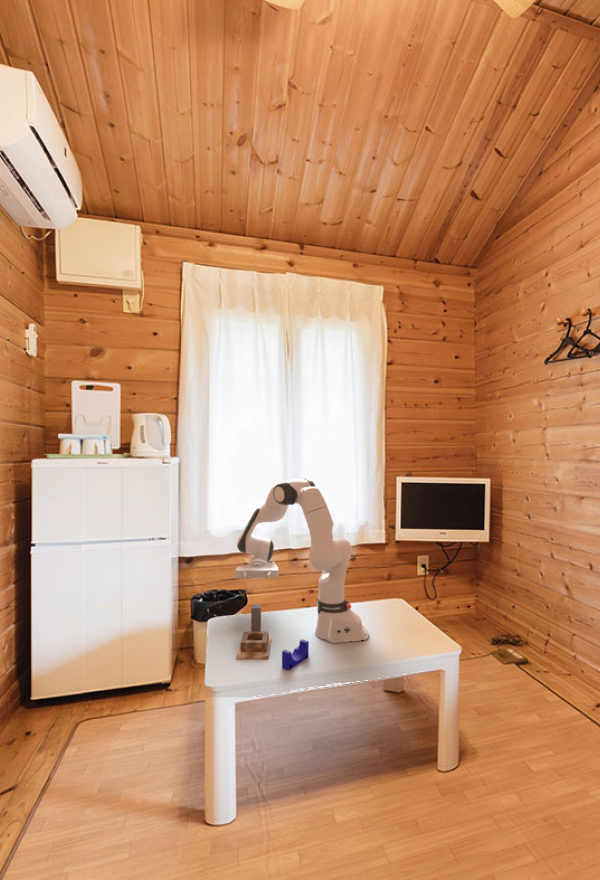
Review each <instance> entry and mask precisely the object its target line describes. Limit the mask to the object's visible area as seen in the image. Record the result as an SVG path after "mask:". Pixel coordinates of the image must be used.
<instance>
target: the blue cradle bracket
mask: <svg viewBox="0 0 600 880" xmlns="http://www.w3.org/2000/svg"><path fill="white" fill-rule="evenodd" d="M309 644H310V643H309V641H308V640H306V639H300V640H299V644H298V646H297V647H295V648H294V649H293V652H291V651H289V650H287V649H283V650H281V667H282V668H281V669H284V670H286V671H291V670H292V669H294V668H295V667H297V666H298V665H299V664H301V663H302V662H304V661H305V660H307V659H308V658H309V656H310V655H309V653H310V652H309V650H310V648H309V647H310V646H309Z"/></svg>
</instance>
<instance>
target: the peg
mask: <svg viewBox="0 0 600 880" xmlns="http://www.w3.org/2000/svg"><path fill="white" fill-rule="evenodd" d="M250 610H251V611H250V612H251V616H250V617H251V618H250V620H251V621H250V622H251V623H250V631H262V604H261V603H260V604H251V609H250Z"/></svg>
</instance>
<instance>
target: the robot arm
mask: <svg viewBox="0 0 600 880" xmlns="http://www.w3.org/2000/svg"><path fill="white" fill-rule="evenodd" d="M266 497H267V498H266V500H265V503H264V504H263V505H262V506H261V507H258V508H256V509H255V511H254V512H253V514H252V516H251V517H250V519H249V520H248V522H247V524H246V526H245V527H244V529H243V532H242V533H241V534H240V535H239V537H238V539H237V542H236V547H237V549H238V551H239V552H240V553H243V554H249V555H251V556H250V558H249V561H248V565H241V566H237V567H236V568H235V569H234V571H235V573H234V575H235V576H234V577H235V578H236V579H241V578H242V579H243V578H244V580H248V579H250V578H251V579H252V578H253V579H261V578H262V579H263V578H265V579H266V580H268V579H270V578H278V577H279V567H278V565H276V562H275V561H271V559H272V556H273V553H274V547H275V546H274V542H273V540H272V539H270V538H268V537H264V536H260V535H256V534H253V532H254V530H255V528H256V526H258V525H259V524H262V523H275V522H278V521H281V520H282V519H283V518H284V517H285V515H286V512H287V510H288V508H289V506H292V505H293V506H294V505H296V504H298V505H299V506H300V507H301V510H302V513H303V516H304V518H305V521H306V524H307V527H308V531H309V536H310V550H309V553H308V562H309V564H310V566H311V567H312V568H313V569H315V570H316V571H322V572H321V575H320V577H319V580H318V598H317V601H316V603H317V604H316V608H317V609H316V610H317V621H316V626H315V631H314V635H315V636H316V637H318V638H319V639H321V640H324V641H327V642H329V643H330V644H331V643H332V644H339V643H349V642H350V641H352V642H362V641H361V640H364V641H367V640H368V638H369V631H368V629H367V628H366V627H365V626H364V625H363V622H362V619H361V617H360V616H359V615H358V614H357V613H356V612H355V611H353V610H352V609H351V608H352V604H351V603H350V601H349V600H348V599H347V598H345V582H346V574H347V570H348V566H349V561H350V559H351V556H352V555H353V546H352V544H351V543H350V542H349V540H347V539H345V538H334V536H333V528H334V520H333V518H332V515H331V512H330V510H329V507H328V505H327V502H326V500H325V498H324V496H323V494H322V492H321V491H320V489H319V488H318V487H316V485H315V482H313V480H311V479H308V478H301V479H290V480H286V481H280V482H277V483H275V484H273V485H272V487H271V488H270V490H269V493H268V495H267V496H266ZM366 639H367V640H366ZM350 643H351V642H350Z"/></svg>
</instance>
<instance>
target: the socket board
mask: <svg viewBox="0 0 600 880" xmlns="http://www.w3.org/2000/svg"><path fill="white" fill-rule="evenodd" d="M272 640H273V637H272V636H270V632H269V631H264V630H263V631H262V630H261V631H251V630H249V631H247V630H246V631H243V633H242V636H241V640H240V642H239V646H238V650H237V653H236V656H235V657H236V660H237V659H240V660H241V659H244V660H245V659H250V660H251V659H252V660H255V659H257V660H258V659H260V660H262V659H263V660H264V659H265V660H266V659H267V660H269V658H270V654H271V653H270V651H271V647H272V646H271V645H272Z"/></svg>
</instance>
